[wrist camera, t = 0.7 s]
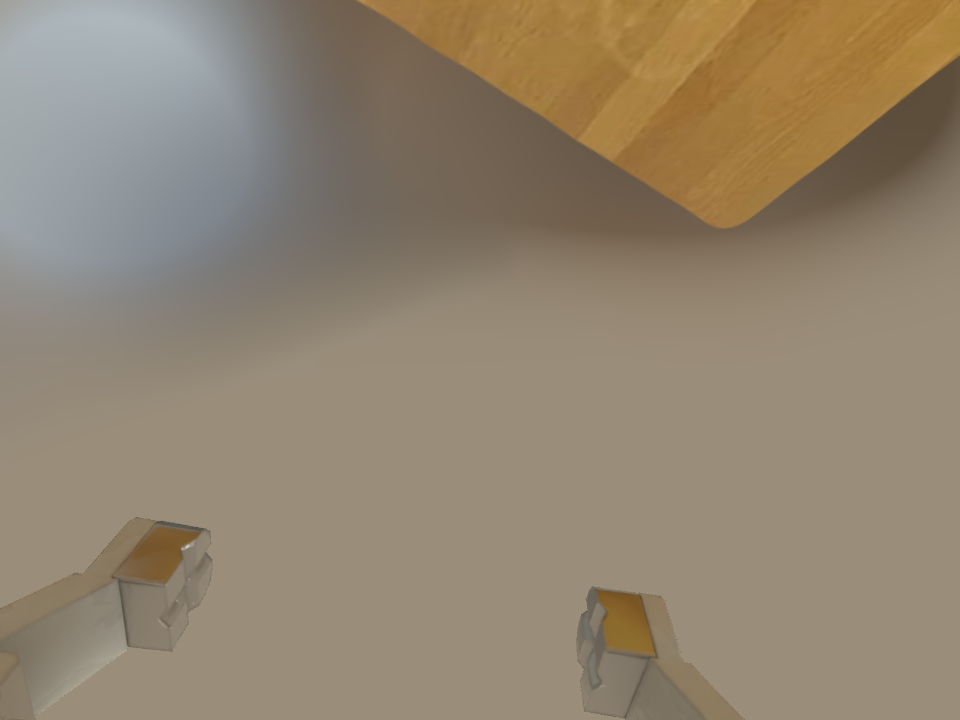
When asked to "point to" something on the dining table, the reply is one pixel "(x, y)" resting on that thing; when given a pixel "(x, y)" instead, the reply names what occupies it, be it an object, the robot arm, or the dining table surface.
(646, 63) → the dining table surface
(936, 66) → the dining table surface
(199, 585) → the robot arm
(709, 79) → the dining table surface
